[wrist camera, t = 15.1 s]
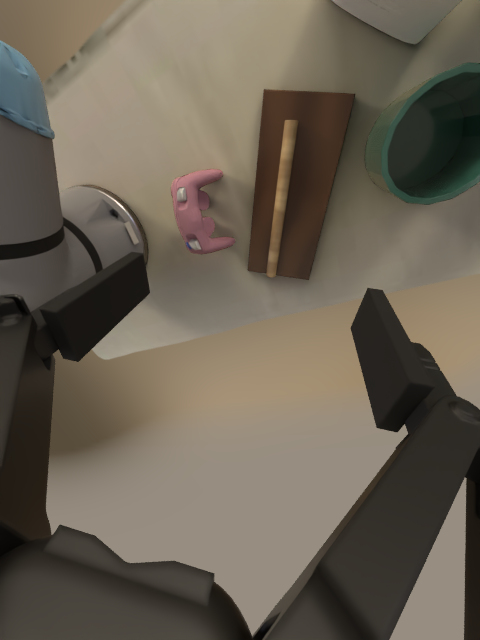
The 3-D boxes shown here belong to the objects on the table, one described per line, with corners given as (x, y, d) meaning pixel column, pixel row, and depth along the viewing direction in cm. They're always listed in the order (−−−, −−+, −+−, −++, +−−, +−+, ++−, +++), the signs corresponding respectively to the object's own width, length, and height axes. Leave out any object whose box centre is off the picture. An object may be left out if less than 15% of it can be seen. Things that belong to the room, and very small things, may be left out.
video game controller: (200, 170, 33) (157, 179, 29) (225, 165, 30) (181, 174, 26) (216, 243, 38) (182, 260, 34) (239, 245, 35) (204, 263, 31)
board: (248, 268, 38) (247, 270, 37) (265, 91, 26) (263, 89, 25) (308, 277, 36) (308, 280, 36) (353, 95, 25) (355, 93, 24)
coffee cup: (353, 187, 29) (365, 198, 23) (384, 82, 24) (411, 60, 18) (435, 195, 28) (472, 209, 22) (488, 87, 22) (555, 65, 16)
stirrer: (341, 209, 33) (268, 277, 37) (289, 112, 26) (203, 210, 29) (347, 211, 32) (272, 281, 36) (295, 111, 25) (204, 213, 28)
